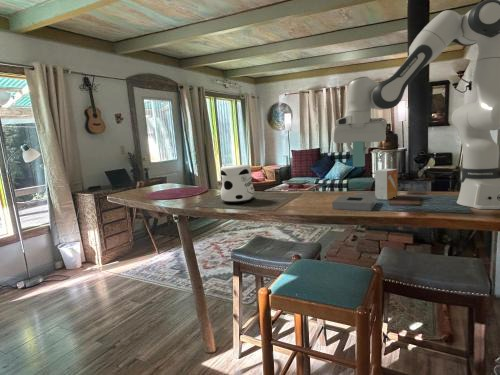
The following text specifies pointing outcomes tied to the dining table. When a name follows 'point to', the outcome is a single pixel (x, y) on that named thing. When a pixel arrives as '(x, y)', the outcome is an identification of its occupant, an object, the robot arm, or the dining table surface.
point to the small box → (386, 183)
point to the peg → (358, 154)
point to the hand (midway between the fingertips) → (358, 153)
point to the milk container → (236, 184)
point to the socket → (355, 202)
